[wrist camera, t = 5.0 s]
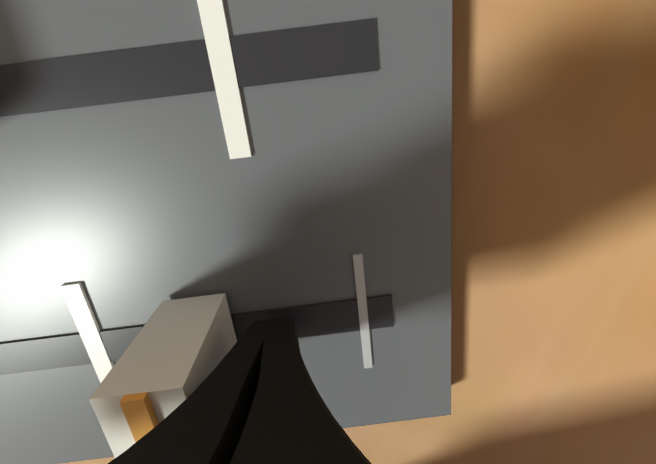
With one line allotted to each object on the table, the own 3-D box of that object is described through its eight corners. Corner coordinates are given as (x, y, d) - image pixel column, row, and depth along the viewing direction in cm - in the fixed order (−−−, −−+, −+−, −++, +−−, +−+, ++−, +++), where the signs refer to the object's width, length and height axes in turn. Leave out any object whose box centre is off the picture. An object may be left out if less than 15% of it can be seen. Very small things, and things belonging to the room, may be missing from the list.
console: (440, 391, 15) (452, 417, 14) (11, 444, 15) (-17, 475, 14) (434, -186, 9) (455, -233, 7) (-300, -95, 9) (-403, -128, 7)
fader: (243, 369, 12) (212, 493, 8) (186, 376, 12) (127, 504, 8) (225, 293, 11) (178, 395, 7) (162, 301, 11) (83, 407, 7)
